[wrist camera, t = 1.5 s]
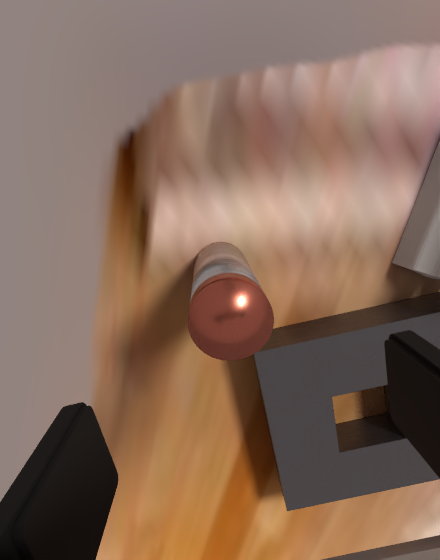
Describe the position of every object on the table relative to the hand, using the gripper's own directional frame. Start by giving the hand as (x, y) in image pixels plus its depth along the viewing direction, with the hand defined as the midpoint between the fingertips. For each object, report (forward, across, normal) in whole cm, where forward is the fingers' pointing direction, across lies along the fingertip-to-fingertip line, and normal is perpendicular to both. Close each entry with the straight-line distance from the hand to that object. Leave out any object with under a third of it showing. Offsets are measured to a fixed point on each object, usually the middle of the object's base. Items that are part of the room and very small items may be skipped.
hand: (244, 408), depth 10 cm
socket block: (+16, -9, +13) cm, 22 cm away
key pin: (+15, 0, -1) cm, 15 cm away
